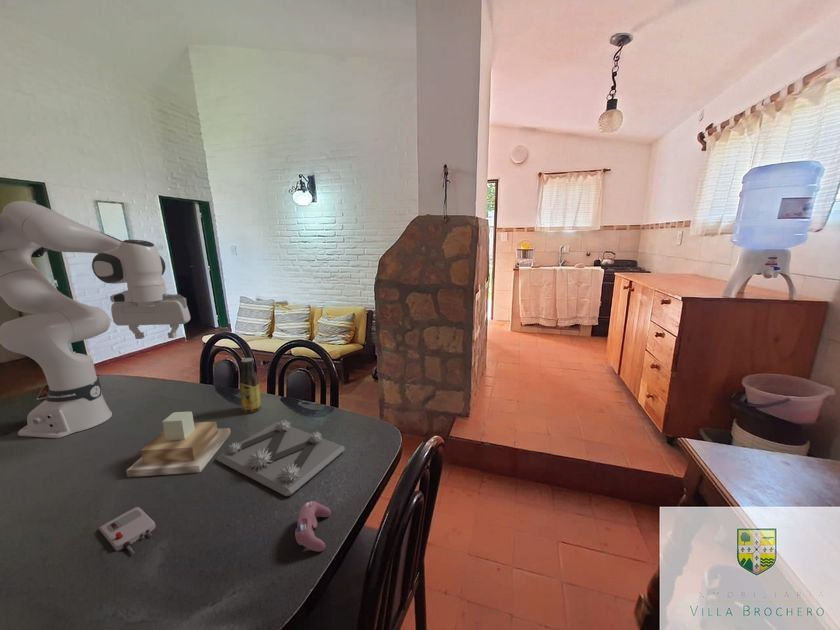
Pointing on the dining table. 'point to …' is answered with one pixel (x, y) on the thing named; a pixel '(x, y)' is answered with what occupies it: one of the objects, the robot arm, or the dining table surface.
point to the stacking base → (183, 464)
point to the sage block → (178, 426)
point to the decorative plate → (281, 456)
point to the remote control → (127, 528)
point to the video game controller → (310, 525)
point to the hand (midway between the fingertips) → (156, 338)
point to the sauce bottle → (249, 387)
